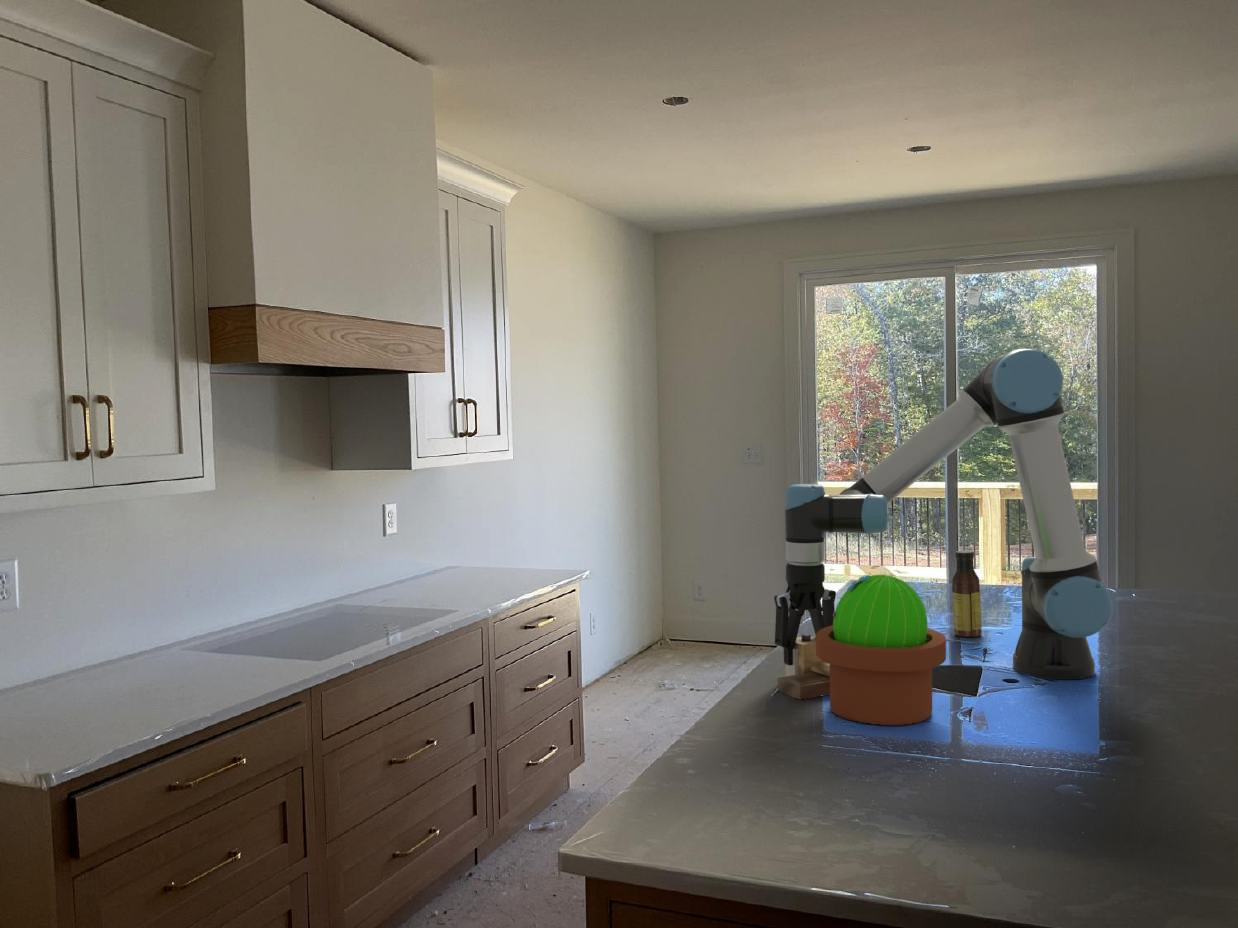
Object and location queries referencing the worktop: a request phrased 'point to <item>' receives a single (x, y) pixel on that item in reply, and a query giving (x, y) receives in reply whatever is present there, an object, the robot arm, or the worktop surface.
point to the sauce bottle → (966, 597)
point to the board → (805, 685)
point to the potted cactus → (881, 653)
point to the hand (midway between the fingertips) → (806, 678)
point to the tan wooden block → (809, 657)
